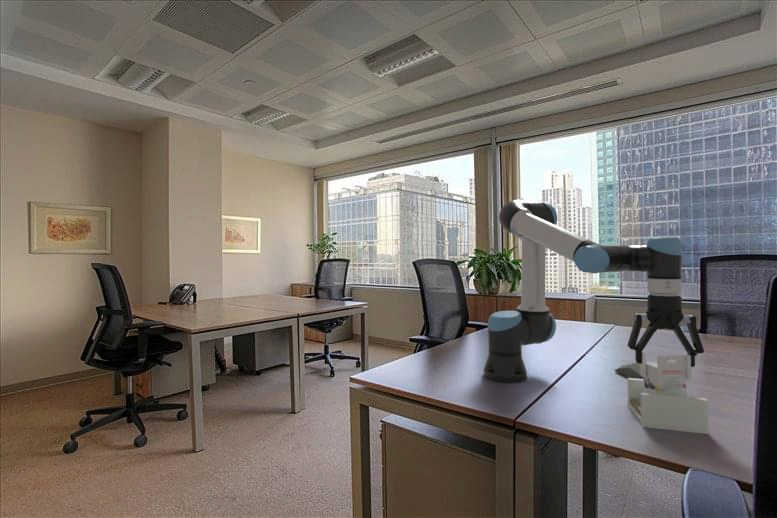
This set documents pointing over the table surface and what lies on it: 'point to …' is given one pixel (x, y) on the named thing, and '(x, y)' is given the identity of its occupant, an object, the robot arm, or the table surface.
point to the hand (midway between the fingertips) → (664, 376)
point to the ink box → (666, 376)
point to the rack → (667, 410)
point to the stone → (630, 370)
